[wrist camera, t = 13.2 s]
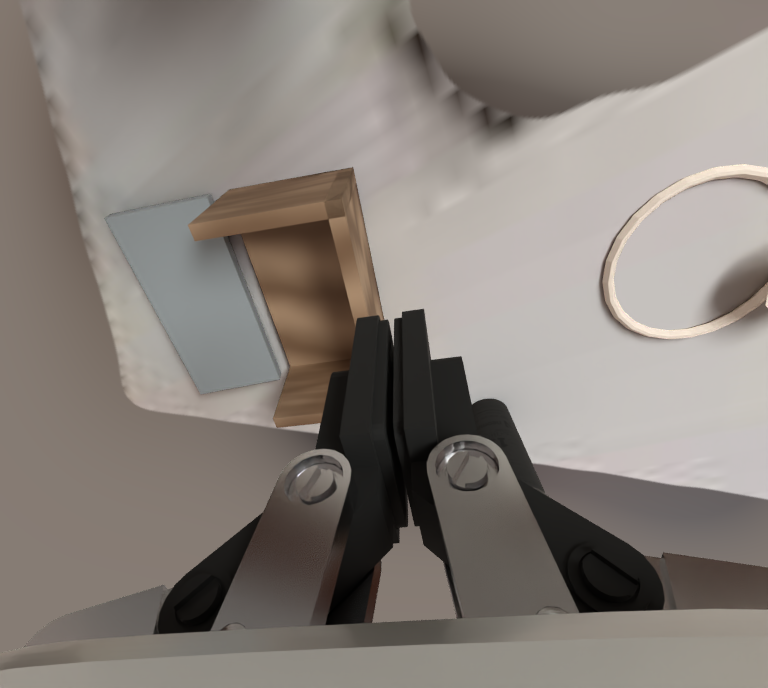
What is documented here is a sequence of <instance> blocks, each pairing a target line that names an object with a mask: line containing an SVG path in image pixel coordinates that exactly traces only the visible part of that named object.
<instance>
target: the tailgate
mask: <svg viewBox="0 0 768 688" xmlns="http://www.w3.org/2000/svg"><path fill="white" fill-rule="evenodd" d="M213 203H214V201H213V198H212V196H211V194H207V195H202V196H197V197H192V198H187V199H182V200H177V201H172V202H167V203H163V204H158V205H153V206H148V207H143V208H138V209H133V210H128V211H123V212H118V213H114V214H110V215H109V216H107V217H106V218H104V219H105V220H106V222H107V224H108V226H109V228H110V230H111V231H112V233H113V235H114V237H115V239H116V241H117V242H118V244H119V246H120V248H121V250H122V252H123V253H124V255H125V257H126V259H127V261H128V262H129V264H130V266H131V268H132V270H133V272H134V273H135V275H136V277H137V279H138V281H139V283H140V284H141V286H142V288H143V290H144V292H145V294H146V295H147V297H148V299H149V301H150V303H151V304H152V306H153V308H154V310H155V312H156V314H157V315H158V317H159V319H160V321H161V323H162V325H163V326H164V328H165V330H166V332H167V334H168V336H169V337H170V339H171V341H172V343H173V345H174V347H175V348H176V350H177V352H178V354H179V356H180V357H181V359H182V361H183V363H184V365H185V367H186V368H187V370H188V372H189V374H190V376H191V378H192V379H193V381H194V383H195V385H196V387H197V389H198V390H199V392H200V394H205V393H211V392H216V391H221V390H227V389H232V388H237V387H242V386H248V385H253V384H258V383H263V382H269V381H274V380H279V379H280V376H281V371H280V369H279V366H278V363H277V361H276V358H275V356H274V353H273V351H272V348H271V346H270V343H269V341H268V338H267V335H266V333H265V330H264V328H263V325H262V323H261V320H260V318H259V315H258V313H257V310H256V307H255V305H254V302H253V300H252V297H251V295H250V292H249V290H248V287H247V285H246V282H245V280H244V277H243V274H242V272H241V269H240V267H239V264H238V262H237V259H236V257H235V254H234V252H233V249H232V246H231V244H230V241H229V239H228V236H224V237H218V238H212V239H206V240H200V241H194V238H193V236H192V234H191V232H190V229H189V227H188V224H189V223H191V222H192V221H193V220H194V219H195V218H197V217H198V216H199V215H200V214H201V213H202V212H204V211H205V210H206V209H207V208H208V207H209V206H211V205H212V204H213Z"/></svg>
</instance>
